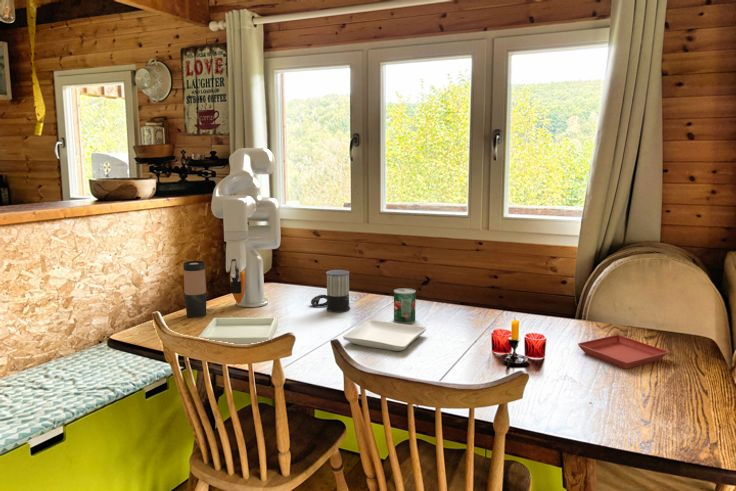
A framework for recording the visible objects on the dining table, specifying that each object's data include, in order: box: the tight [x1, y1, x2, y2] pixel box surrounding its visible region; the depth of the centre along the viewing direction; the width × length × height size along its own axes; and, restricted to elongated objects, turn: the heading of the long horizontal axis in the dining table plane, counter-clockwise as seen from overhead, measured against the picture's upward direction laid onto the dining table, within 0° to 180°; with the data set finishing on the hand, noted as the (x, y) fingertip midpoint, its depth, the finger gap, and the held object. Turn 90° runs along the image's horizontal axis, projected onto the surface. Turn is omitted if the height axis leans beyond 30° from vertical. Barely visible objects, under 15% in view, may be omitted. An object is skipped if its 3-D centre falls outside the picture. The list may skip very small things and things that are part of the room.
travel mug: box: [182, 260, 207, 319], centre depth 212 cm, size 8×8×20 cm
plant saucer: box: [577, 334, 669, 370], centre depth 169 cm, size 18×18×3 cm
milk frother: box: [310, 269, 351, 313], centre depth 223 cm, size 14×16×15 cm
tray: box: [197, 316, 279, 344], centre depth 189 cm, size 22×22×3 cm
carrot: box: [229, 268, 245, 304], centre depth 186 cm, size 5×5×15 cm
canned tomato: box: [393, 287, 417, 325], centre depth 206 cm, size 8×8×11 cm
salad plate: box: [342, 319, 427, 352], centre depth 184 cm, size 21×21×3 cm
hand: (238, 290), depth 187 cm, fingers closed on carrot, 4 cm apart
